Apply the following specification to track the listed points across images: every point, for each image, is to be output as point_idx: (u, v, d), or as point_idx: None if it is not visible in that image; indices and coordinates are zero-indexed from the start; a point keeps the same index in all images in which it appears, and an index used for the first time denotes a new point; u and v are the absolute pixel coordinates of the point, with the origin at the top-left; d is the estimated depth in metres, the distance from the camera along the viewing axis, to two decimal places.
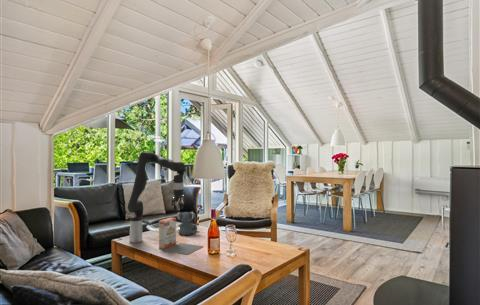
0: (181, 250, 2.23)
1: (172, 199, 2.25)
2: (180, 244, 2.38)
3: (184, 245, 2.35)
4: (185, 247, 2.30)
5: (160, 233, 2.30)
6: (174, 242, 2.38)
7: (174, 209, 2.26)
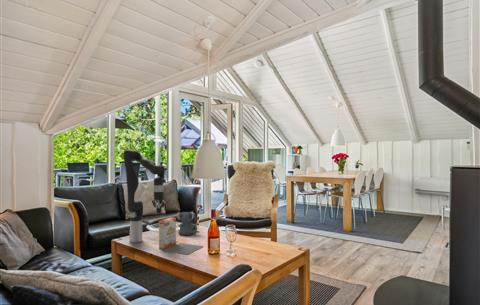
0: (181, 250, 2.23)
1: (163, 203, 2.36)
2: (180, 244, 2.38)
3: (184, 245, 2.35)
4: (185, 247, 2.30)
5: (160, 233, 2.30)
6: (174, 242, 2.38)
7: (160, 211, 2.38)
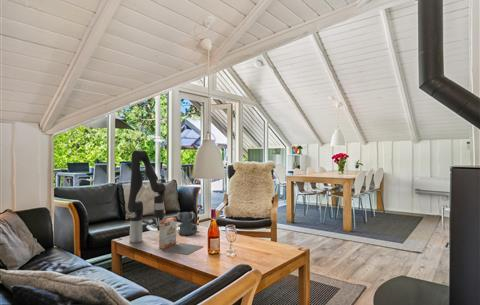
0: (181, 250, 2.23)
1: None
2: (180, 244, 2.38)
3: (184, 245, 2.35)
4: (185, 247, 2.30)
5: (160, 233, 2.29)
6: (174, 242, 2.38)
7: None
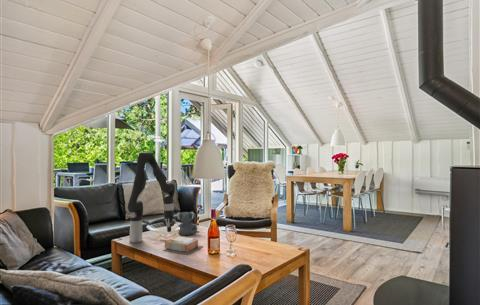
0: None
1: (174, 222, 2.31)
2: None
3: None
4: None
5: (176, 245, 2.23)
6: None
7: (170, 230, 2.34)
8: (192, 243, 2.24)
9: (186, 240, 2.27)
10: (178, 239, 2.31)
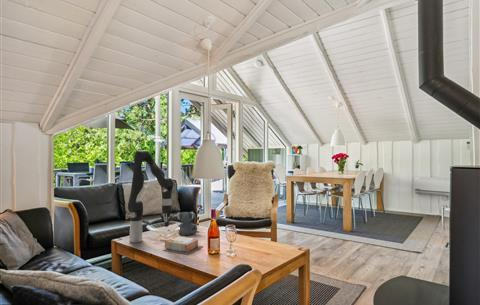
0: None
1: (171, 217, 2.33)
2: None
3: None
4: None
5: (176, 245, 2.23)
6: None
7: (167, 225, 2.35)
8: (192, 243, 2.24)
9: (186, 240, 2.27)
10: (178, 239, 2.31)
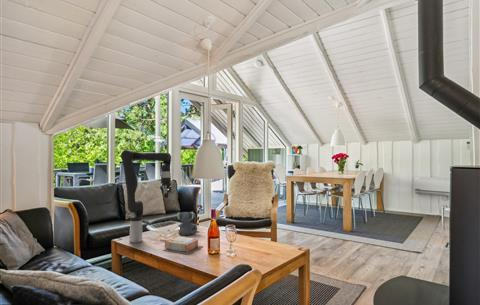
0: None
1: (171, 188, 2.48)
2: None
3: None
4: None
5: (176, 245, 2.23)
6: None
7: (167, 196, 2.50)
8: (192, 243, 2.24)
9: (186, 240, 2.27)
10: (178, 239, 2.31)
